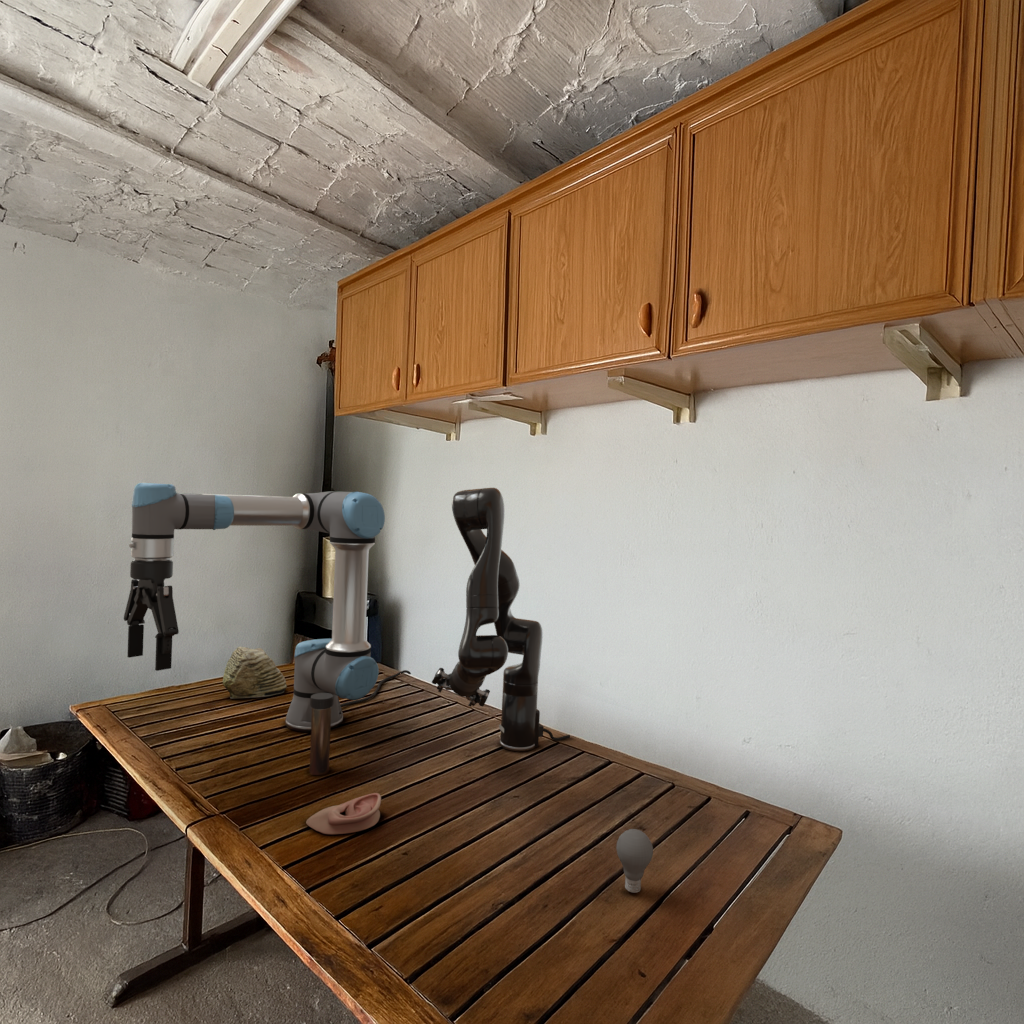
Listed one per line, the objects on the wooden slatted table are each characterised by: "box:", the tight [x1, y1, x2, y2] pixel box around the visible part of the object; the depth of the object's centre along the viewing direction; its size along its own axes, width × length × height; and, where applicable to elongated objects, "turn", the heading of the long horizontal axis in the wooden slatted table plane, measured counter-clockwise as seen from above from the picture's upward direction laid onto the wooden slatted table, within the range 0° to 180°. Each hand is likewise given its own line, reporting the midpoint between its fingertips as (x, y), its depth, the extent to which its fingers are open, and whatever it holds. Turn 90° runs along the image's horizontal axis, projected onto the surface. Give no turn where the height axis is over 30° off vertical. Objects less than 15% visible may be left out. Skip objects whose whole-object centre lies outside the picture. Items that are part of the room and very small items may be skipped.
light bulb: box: [615, 828, 654, 894], centre depth 106 cm, size 6×6×10 cm
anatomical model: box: [305, 792, 382, 835], centre depth 124 cm, size 13×4×12 cm
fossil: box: [222, 646, 288, 699], centre depth 198 cm, size 9×18×15 cm, turn 132°
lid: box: [310, 693, 333, 709], centre depth 146 cm, size 5×5×2 cm
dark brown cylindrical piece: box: [309, 707, 331, 776], centre depth 146 cm, size 4×4×17 cm
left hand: (148, 662), depth 129 cm, fingers open, 13 cm apart
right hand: (455, 695), depth 163 cm, fingers open, 8 cm apart
